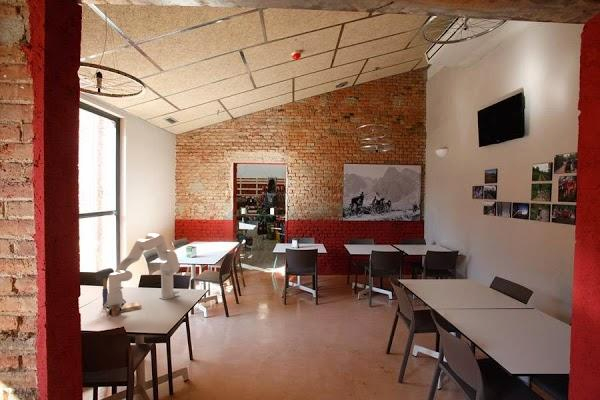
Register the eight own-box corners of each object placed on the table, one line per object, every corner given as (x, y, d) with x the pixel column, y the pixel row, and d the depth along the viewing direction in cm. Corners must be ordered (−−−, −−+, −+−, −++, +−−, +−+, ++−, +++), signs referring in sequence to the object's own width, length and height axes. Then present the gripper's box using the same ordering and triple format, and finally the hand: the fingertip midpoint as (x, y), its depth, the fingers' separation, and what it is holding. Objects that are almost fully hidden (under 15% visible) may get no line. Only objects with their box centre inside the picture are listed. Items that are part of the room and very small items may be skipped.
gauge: (117, 309, 250) (117, 299, 249) (119, 314, 238) (119, 304, 238) (109, 310, 247) (109, 300, 246) (111, 316, 235) (111, 305, 235)
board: (139, 304, 260) (138, 301, 260) (141, 308, 252) (141, 305, 252) (106, 310, 246) (106, 307, 246) (107, 314, 238) (107, 311, 238)
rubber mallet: (102, 309, 249) (102, 271, 248) (94, 308, 250) (94, 270, 250) (115, 304, 261) (114, 267, 260) (107, 303, 262) (107, 267, 262)
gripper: (126, 286, 246) (127, 309, 247) (100, 290, 236) (101, 314, 237) (128, 288, 240) (129, 312, 241) (101, 293, 230) (102, 318, 231)
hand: (115, 313), depth 239 cm, fingers closed on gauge, 5 cm apart
